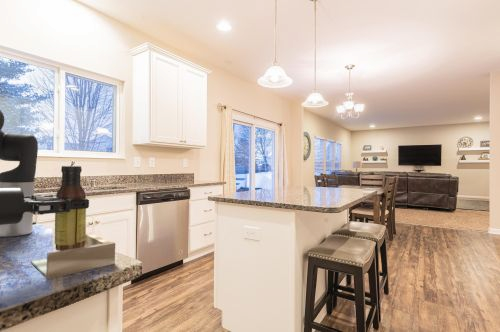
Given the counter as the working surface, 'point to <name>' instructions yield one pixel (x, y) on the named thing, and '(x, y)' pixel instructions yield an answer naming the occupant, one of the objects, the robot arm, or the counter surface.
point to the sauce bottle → (74, 222)
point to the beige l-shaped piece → (77, 258)
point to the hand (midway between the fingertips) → (82, 202)
